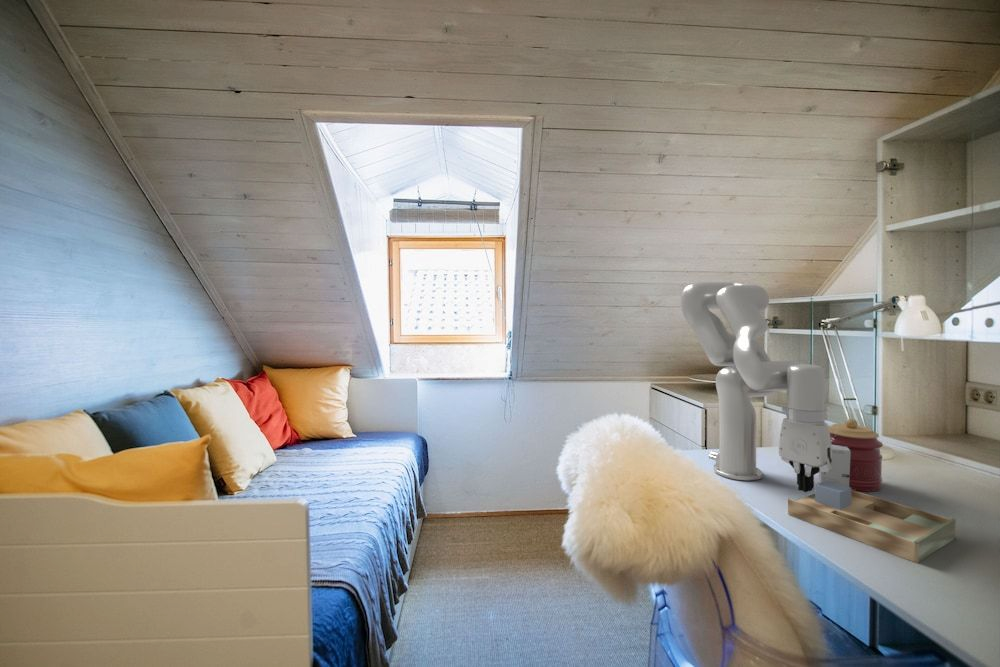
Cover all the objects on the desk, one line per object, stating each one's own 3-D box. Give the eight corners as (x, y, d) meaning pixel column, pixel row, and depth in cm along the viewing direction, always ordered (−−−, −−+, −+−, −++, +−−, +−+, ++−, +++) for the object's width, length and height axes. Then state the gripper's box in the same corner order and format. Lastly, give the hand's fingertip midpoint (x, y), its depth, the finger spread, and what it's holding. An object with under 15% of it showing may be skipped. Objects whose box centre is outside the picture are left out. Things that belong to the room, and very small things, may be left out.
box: (787, 514, 102) (788, 497, 102) (828, 497, 110) (829, 482, 110) (917, 563, 82) (917, 542, 82) (955, 538, 90) (955, 519, 90)
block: (815, 501, 103) (815, 484, 103) (826, 497, 105) (826, 480, 105) (839, 509, 98) (839, 492, 98) (850, 504, 101) (851, 487, 100)
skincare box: (820, 493, 113) (820, 447, 112) (817, 487, 117) (818, 442, 116) (850, 498, 110) (851, 450, 109) (846, 491, 114) (847, 445, 113)
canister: (844, 471, 127) (845, 411, 127) (894, 489, 115) (896, 422, 114) (809, 477, 124) (810, 415, 123) (857, 495, 112) (858, 426, 111)
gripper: (765, 412, 111) (765, 483, 112) (832, 423, 98) (832, 504, 98) (782, 408, 115) (782, 477, 115) (849, 419, 101) (849, 497, 102)
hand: (805, 490), depth 107 cm, fingers closed
